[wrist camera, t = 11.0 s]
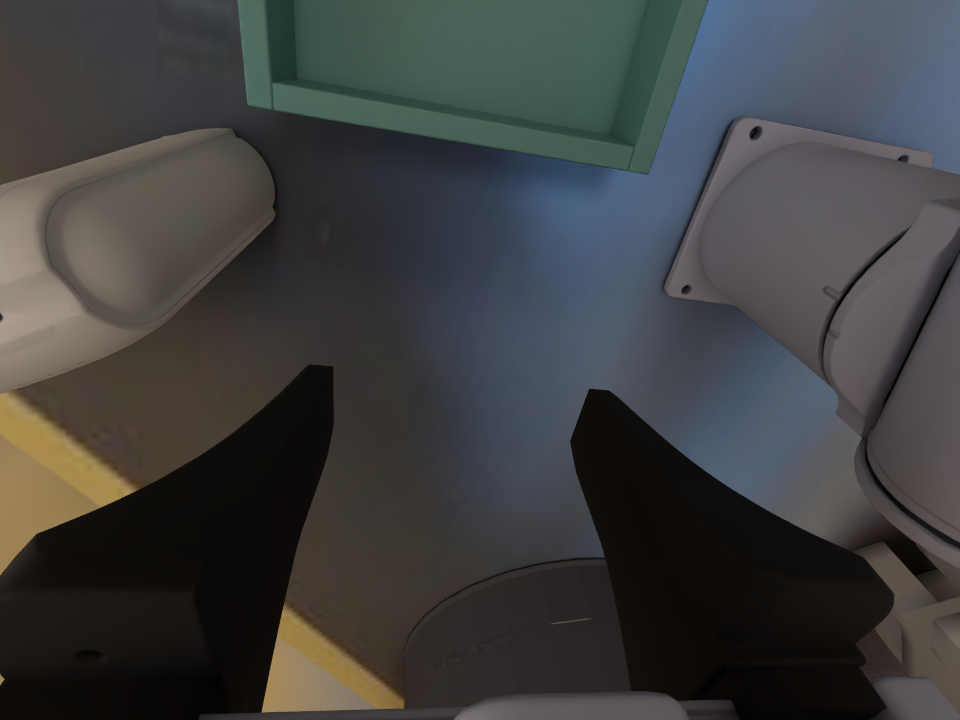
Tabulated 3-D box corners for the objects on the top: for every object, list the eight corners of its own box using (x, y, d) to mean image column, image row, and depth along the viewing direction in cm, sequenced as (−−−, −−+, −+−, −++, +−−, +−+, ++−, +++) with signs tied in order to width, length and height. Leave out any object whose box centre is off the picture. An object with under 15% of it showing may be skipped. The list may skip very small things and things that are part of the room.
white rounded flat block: (86, 280, 21) (-264, 500, 11) (8, 185, 18) (-539, 348, 8) (297, 218, 20) (141, 392, 10) (244, 110, 18) (-37, 186, 7)
